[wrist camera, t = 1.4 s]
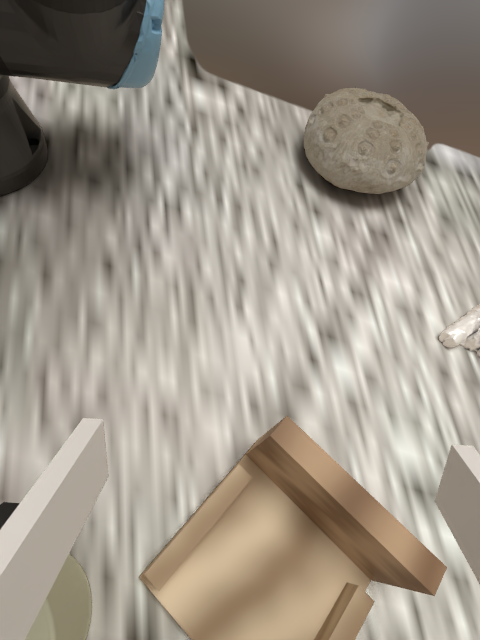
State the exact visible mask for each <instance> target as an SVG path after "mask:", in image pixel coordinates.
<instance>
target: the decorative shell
mask: <svg viewBox="0 0 480 640" xmlns="http://www.w3.org/2000/svg"><path fill="white" fill-rule="evenodd" d="M423 129H424V127H422V126H421V124H420V122H419V121H418V119H417V118H416V117H415V115H413V114H412V113H411V112H410V111H408V110H407V109H406V107H405V106H404V105H402V103H401V102H399V101H398V100H396V99H395V98H392V97H391V96H390V95H384V94H377V93H375V92H370V91H366V89H359V88H345V89H341V90H338V91H336V92H334V93H332V94H330V95H329V94H326V95H325V97H324V99H323V100H321V101H320V102H319V103H318V105H317V107H316V108H315V109H314V111H313V112H312V113H311V115H310V117H309V119H308V122H307V125H306V127H305V132H304V148H305V152H306V157H307V158H308V160H309V162H310V164H311V165H312V166H313V167H314V169H315V170H316V171H317V172H318V173H319V174H320V175H321V176H322V177H323V178H325V179H326V180H327V181H329V182H331V183H332V184H333V185H334V186H337V187H339V188H341V189H348V190H353V191H356V192H362V193H375V194H382V193H384V192H389V191H391V192H392V191H395V190H398V189H400V188H403V187H406V186H408V185H410V184H411V183H412V182H413V181H414V180H415V179H416V178H418V176H419V175H420V174H421V172H422V171H423V168H424V165H425V162H426V160H425V158H426V153H427V146H428V145H429V142H427V141H426V137H425V134H424V130H423Z"/></svg>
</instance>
